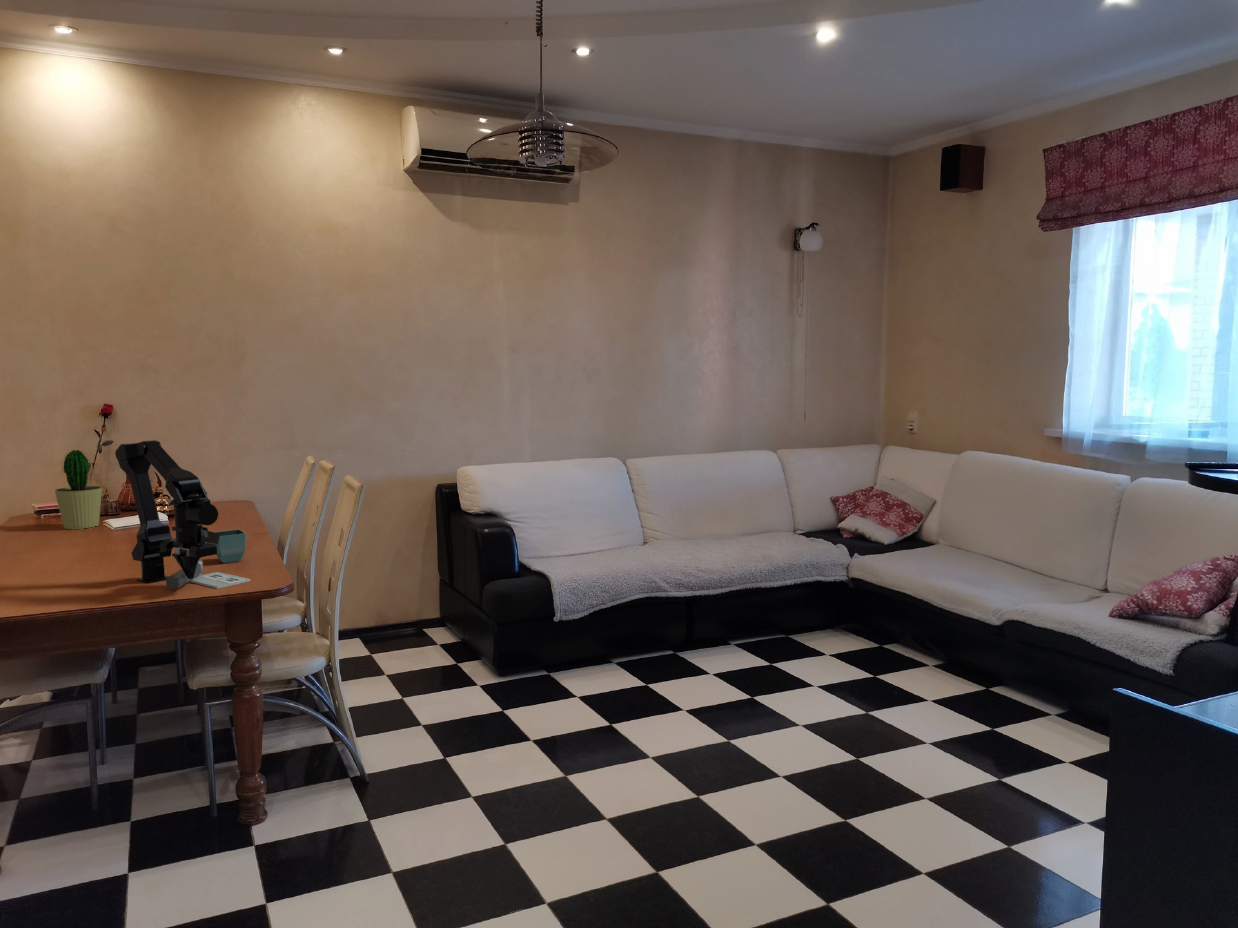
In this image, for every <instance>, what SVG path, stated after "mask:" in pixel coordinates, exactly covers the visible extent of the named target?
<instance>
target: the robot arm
mask: <svg viewBox="0 0 1238 928" xmlns="http://www.w3.org/2000/svg"><path fill="white" fill-rule="evenodd" d="M114 455H115V458H116V460H117V462H118V465H119V468H120V469H121V470H122V471H123V472H124V473H125V474H126V476H128V477H129V483H130V487H131V489H132V490H131V491H132V496H133V499H134V505H135V507H136V511H137V516H138V520H139V524H140V525H139V529H138V532H137V533H136V544H135V546H134V547H133V550H132V551H131V556H132V560H133V561H136V562H140V566H141V567H140V568H141V577H137V578H136V581H139V582H143V583H149V584H150V583H154V582H159V581H164V580H165V581H166V578H167V577H169V576H170V575H165V574H166V573H165V572H166V571H165V562H164V560H165V559H164V558H167V557H171V556H172V557H173V558H174V559H175V561H176V562H177V564H178V565H179V567H180V569H182V570H183V571H184V573H185V575H186V576H187V578H188V579H193V578H194V574H195V570H196V567H197V564H198V561H199V560H200V559H201V558H205V557H210V556H215V555H216V554H218V547H217V546H216V545H215V544H217V545H218V542H219V539H220V535H221V534H220V533H215V532H216V531H211V530H210V531H209V529H208V527H205V526H211V525H214V524H215V523H216V522H217V520H218V518H219V510H218V508H217V507H216V506H215V505H213V504H212V503H211V499H209V496H208V492H207V491H206V489H205V488H204V487H203V484H202V482H201V480H200V478H199V477H198V476H197V475H196V474H194V473H193V472H192V471H190V470H186V469H183V468H181V467H180V465H179V464H178V463H177V462H176V461H175V460H174V459H173V458H172V457H171V456H170V454H169V453H167V451H166V450H165V449H164V448H163V447H162V443H161V442H160V440H156V439H153V440H142V441H139V442H135V443H134V442H132V443H131V442H130V443H121V444H119V446H118V447H117V448H116V450H115V453H114ZM151 466H152V467H153V468H154V469H155V470H156V471H157V473H158V474H159V475H160V476H161V477H162V478H163V480H164V481H165V486H164V487H165V489H166V491H167V492H168V494H169V495H170V497H171V498H172V499H171V500H170V502H169V506H173V512H174V513H173V514H174V526H171V528H170V526H169V525H168V524H164V523H162V521H161V520H160V517H159V512H158V508H157V505H156V500H155V496H154V491H153V486H152V483H151V478H150V475H149V470H150V468H151ZM171 531H174V532H175V537H174V538H173V535H172V534H171ZM212 543H214V544H212ZM172 550H174V552H173V553H172ZM216 556H217V555H216Z"/></svg>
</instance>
